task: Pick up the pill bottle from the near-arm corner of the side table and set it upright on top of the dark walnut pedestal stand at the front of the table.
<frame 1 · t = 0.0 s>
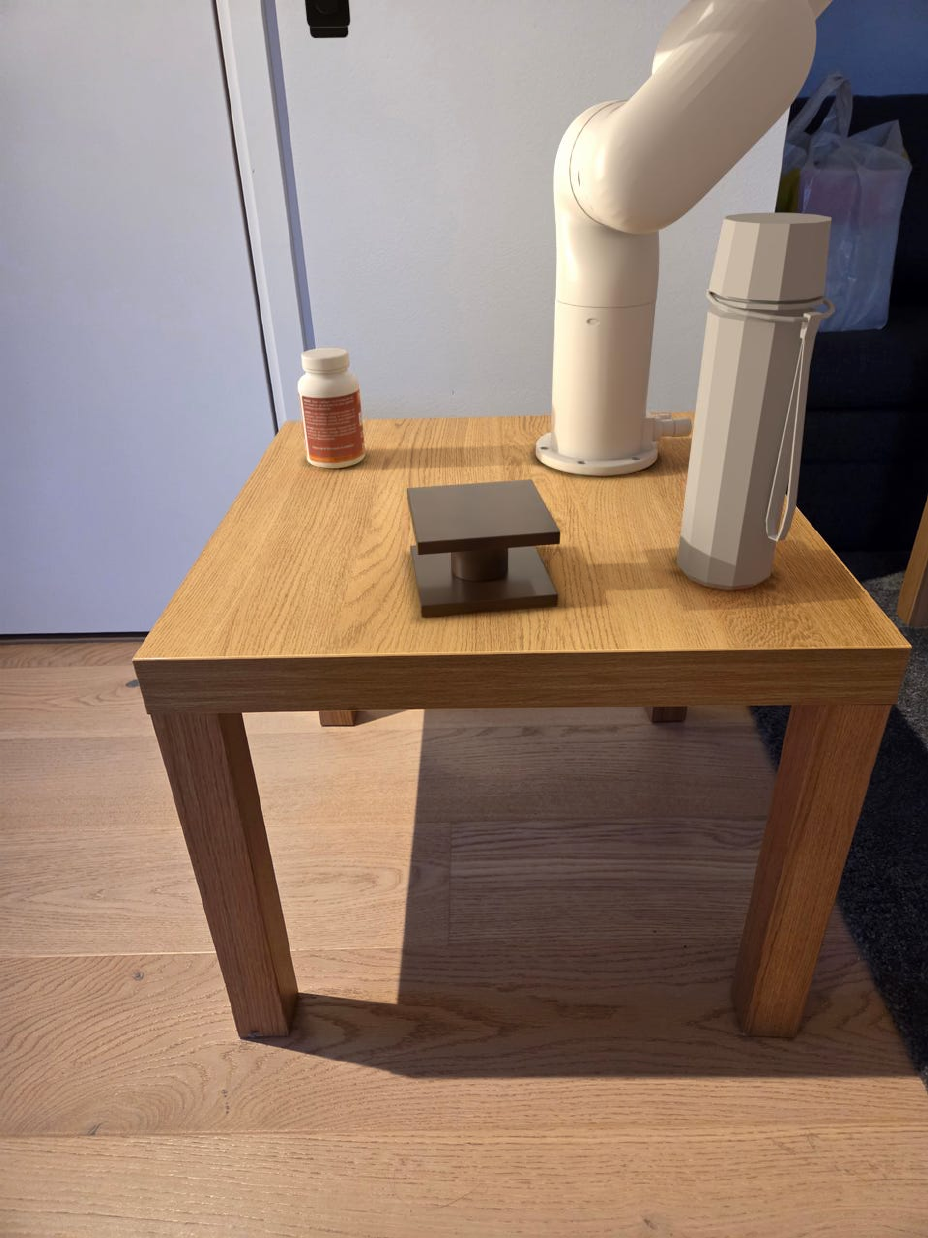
hand: (329, 32, 67), 37 cm above the table, tool pointing down, fingers open, 9 cm apart
water bottle: (730, 580, 65), on the table
pill bottle: (336, 461, 89), on the table
stand: (479, 579, 65), on the table
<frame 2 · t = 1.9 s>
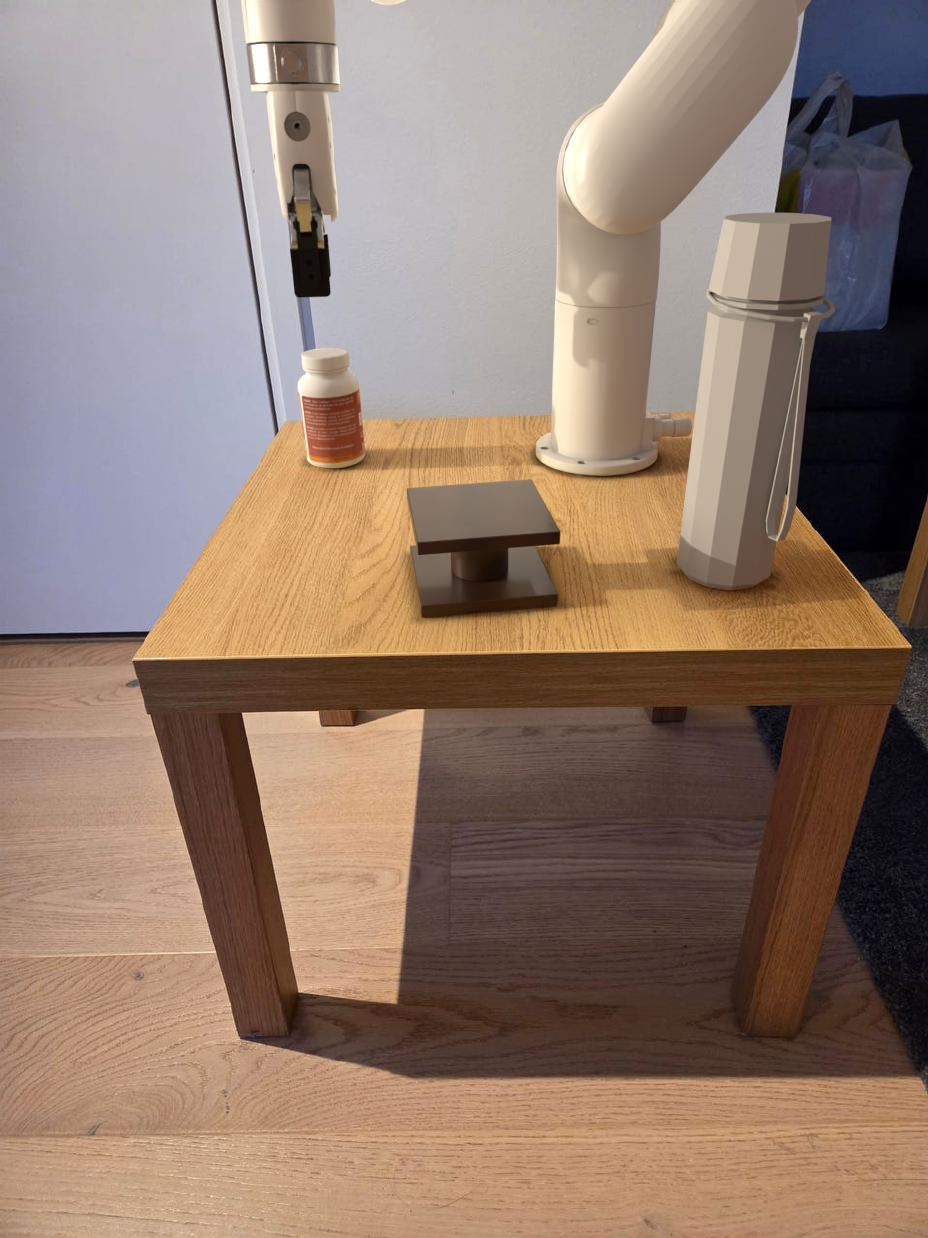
hand: (314, 286, 80), 17 cm above the table, tool pointing down, fingers open, 9 cm apart
nothing on the table moved.
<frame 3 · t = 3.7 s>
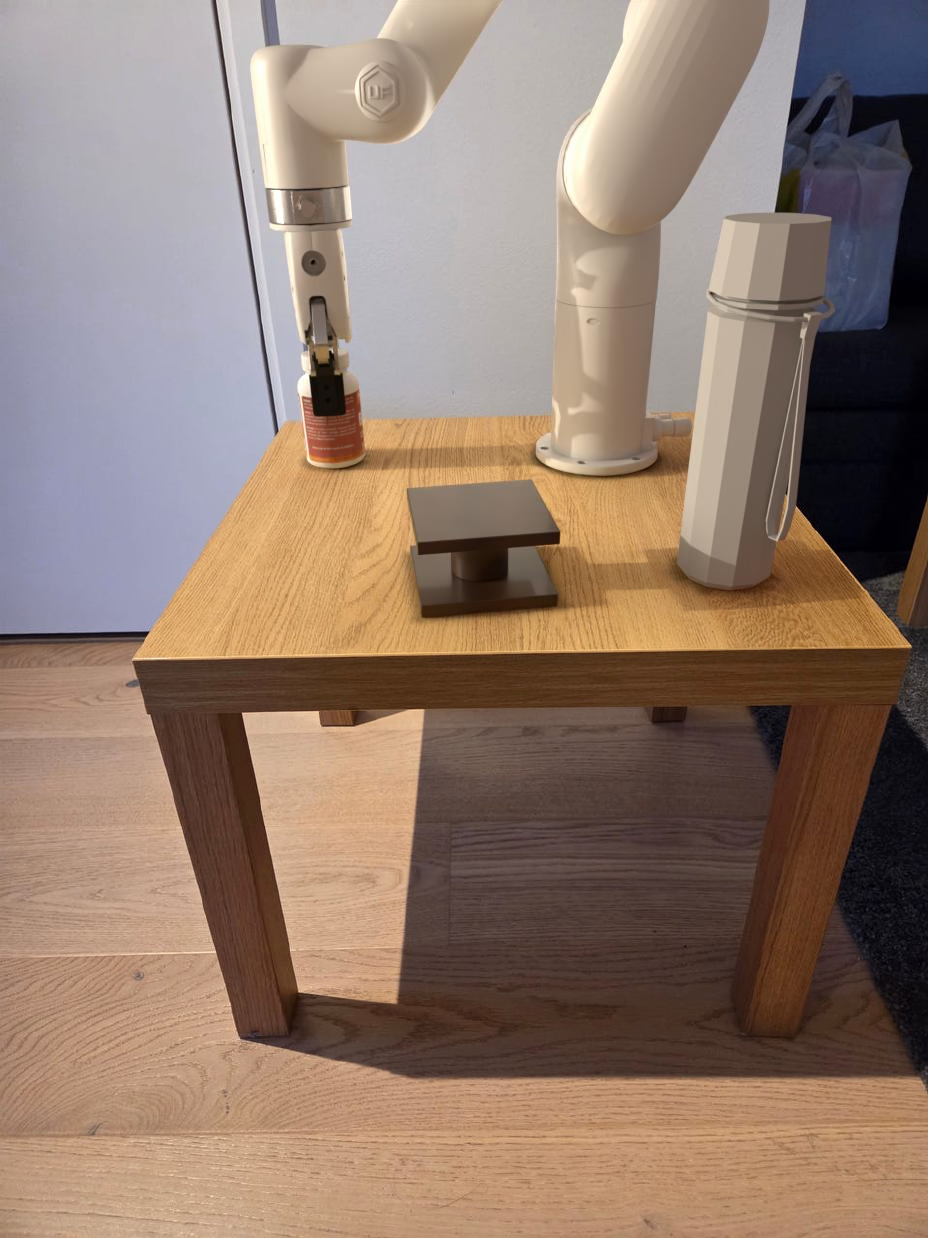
hand: (330, 403, 86), 6 cm above the table, tool pointing down, fingers closed on pill bottle, 6 cm apart
pill bottle: (336, 461, 89), on the table, touching gripper
everything else where it was.
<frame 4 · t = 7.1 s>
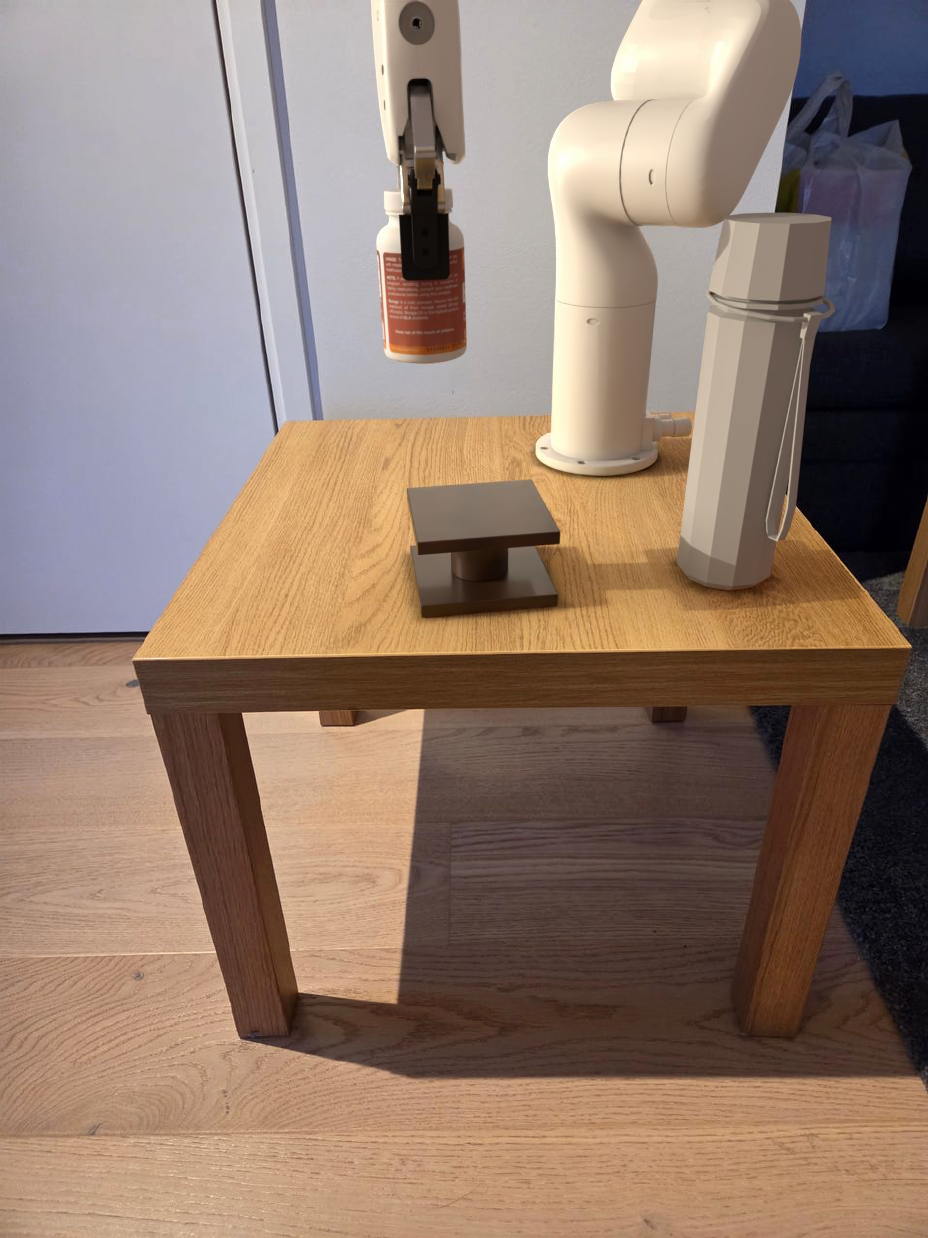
hand: (422, 268, 60), 22 cm above the table, tool pointing down, fingers closed on pill bottle, 6 cm apart
pill bottle: (425, 358, 63), point 15 cm above the table, touching gripper
everything else where it was.
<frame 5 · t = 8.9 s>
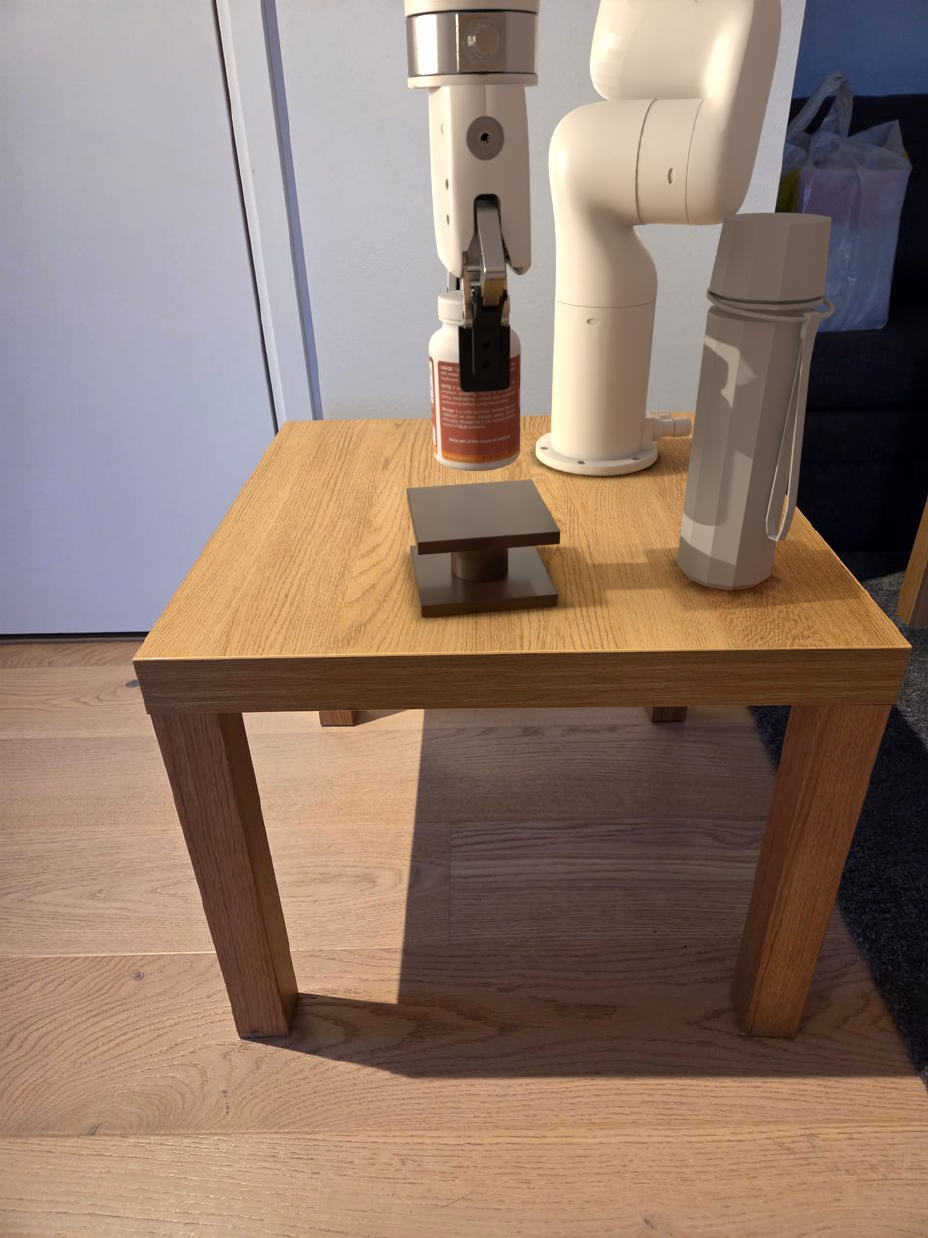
hand: (476, 373, 57), 16 cm above the table, tool pointing down, fingers closed on pill bottle, 6 cm apart
pill bottle: (476, 461, 60), point 10 cm above the table, touching gripper
everything else where it was.
when the fingers open (12 cm above the table, at t = 10.4 s): pill bottle stays where it is, resting on stand.
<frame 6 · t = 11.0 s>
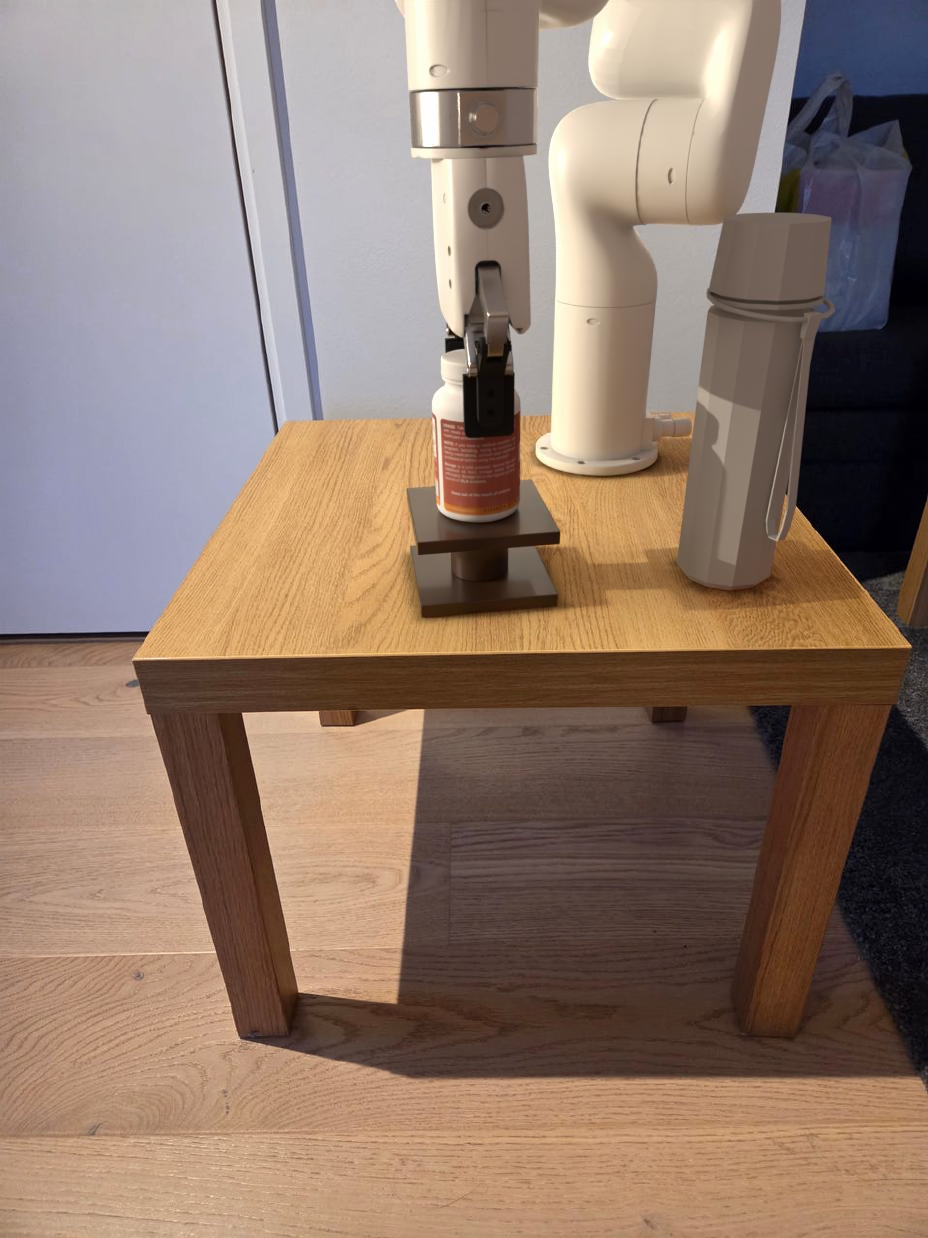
hand: (478, 412, 59), 13 cm above the table, tool pointing down, fingers open, 9 cm apart
pill bottle: (478, 510, 62), point 6 cm above the table, touching stand
everything else where it was.
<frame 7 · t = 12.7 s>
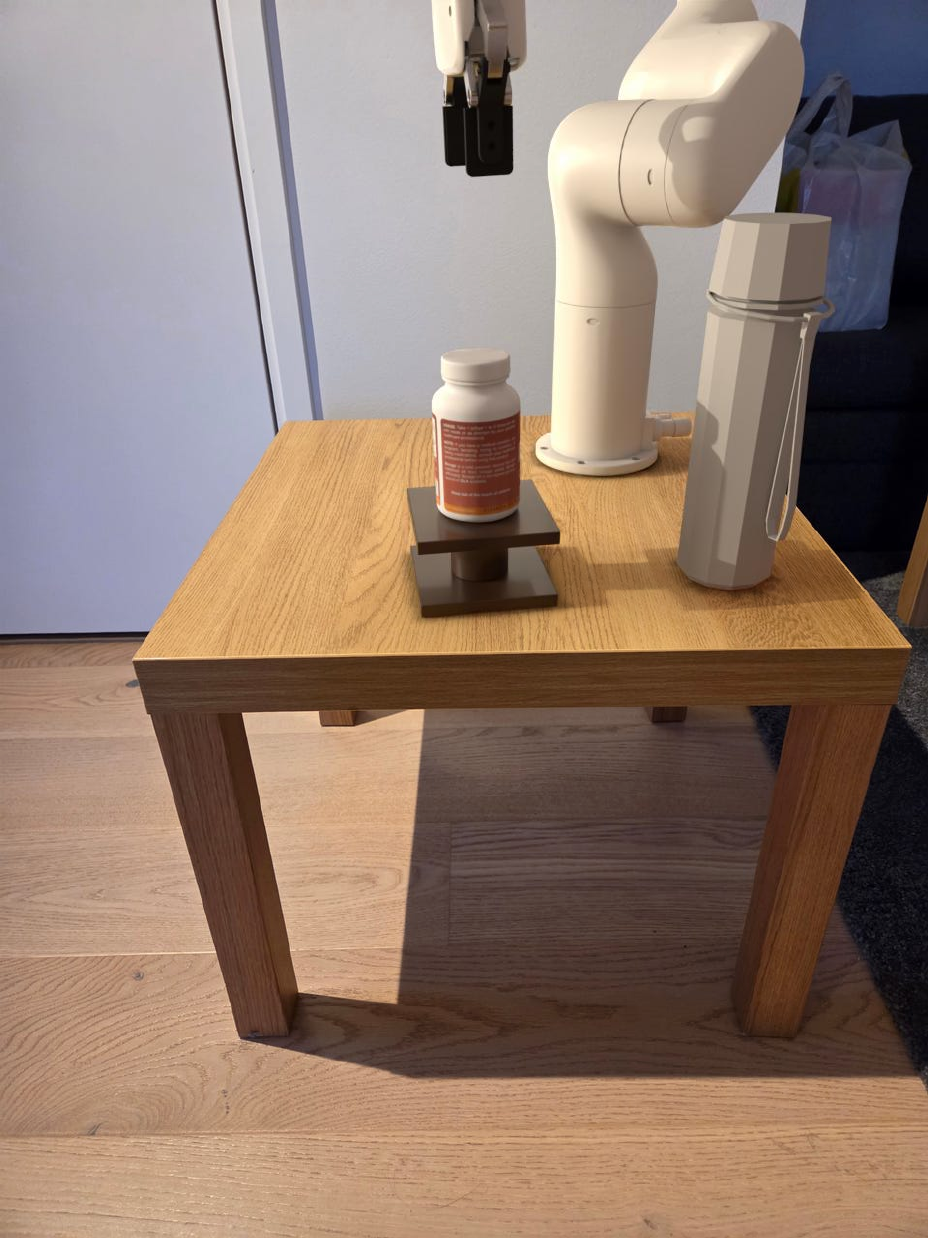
hand: (477, 169, 61), 27 cm above the table, tool pointing down, fingers open, 9 cm apart
nothing on the table moved.
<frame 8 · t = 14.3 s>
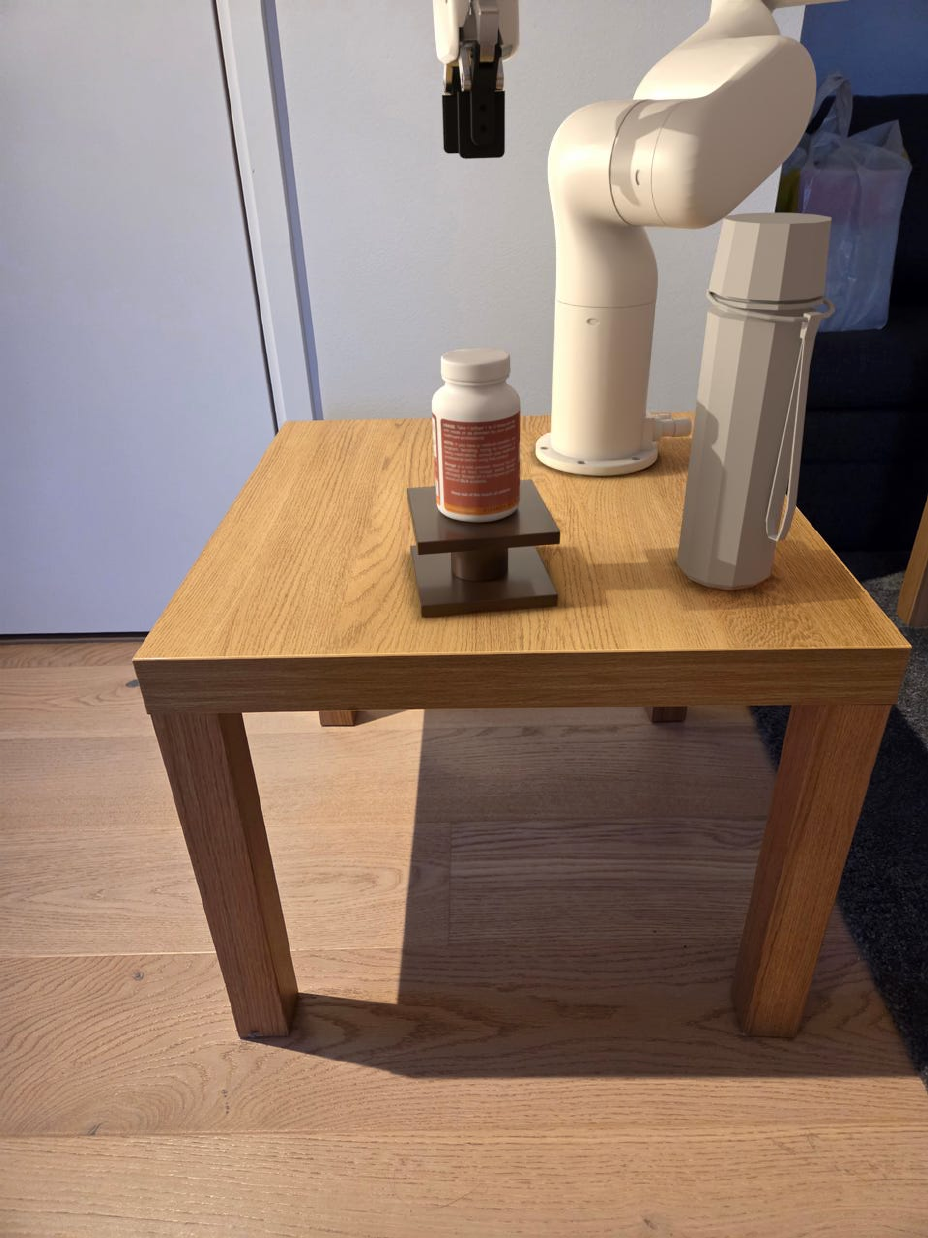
hand: (472, 154, 64), 28 cm above the table, tool pointing down, fingers open, 9 cm apart
nothing on the table moved.
at the end: pill bottle 0.1 cm off-centre on the stand, point 5.8 cm above the stand's base; pill bottle tilted 0° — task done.
